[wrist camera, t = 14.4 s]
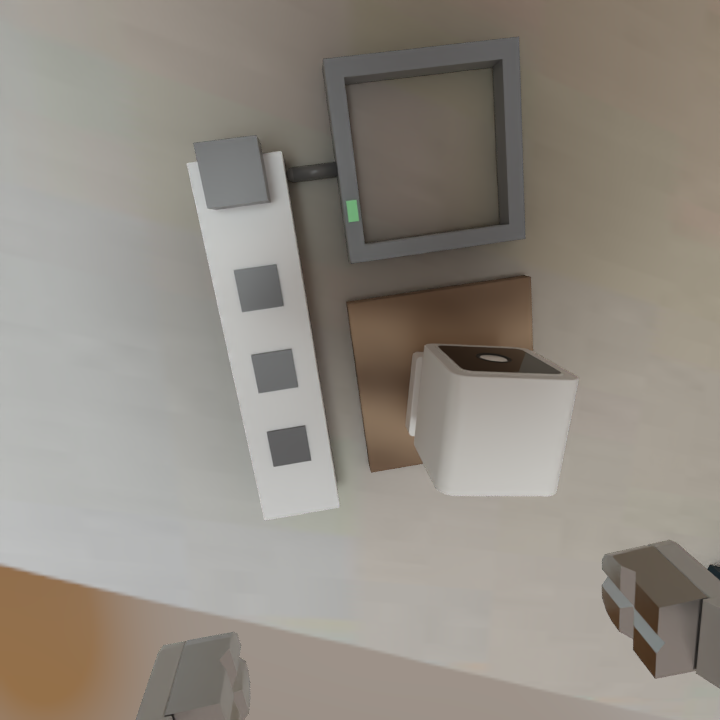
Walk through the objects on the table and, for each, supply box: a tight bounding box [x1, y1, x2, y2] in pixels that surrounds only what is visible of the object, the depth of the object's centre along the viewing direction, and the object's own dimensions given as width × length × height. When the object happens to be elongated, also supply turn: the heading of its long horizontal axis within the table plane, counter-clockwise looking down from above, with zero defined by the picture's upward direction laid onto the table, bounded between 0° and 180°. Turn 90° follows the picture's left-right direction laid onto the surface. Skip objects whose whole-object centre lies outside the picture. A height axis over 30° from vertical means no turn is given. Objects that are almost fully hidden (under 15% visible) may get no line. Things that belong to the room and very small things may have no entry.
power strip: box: [187, 135, 340, 521], centre depth 29 cm, size 22×9×5 cm, turn 7°
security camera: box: [405, 344, 579, 496], centre depth 28 cm, size 6×7×10 cm
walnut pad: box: [346, 275, 533, 473], centre depth 33 cm, size 12×12×1 cm
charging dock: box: [322, 37, 525, 264], centre depth 28 cm, size 11×11×2 cm
